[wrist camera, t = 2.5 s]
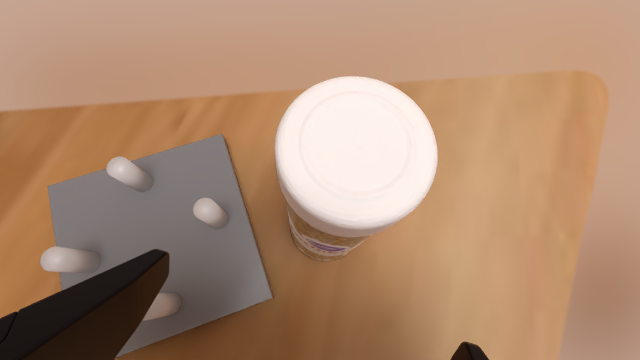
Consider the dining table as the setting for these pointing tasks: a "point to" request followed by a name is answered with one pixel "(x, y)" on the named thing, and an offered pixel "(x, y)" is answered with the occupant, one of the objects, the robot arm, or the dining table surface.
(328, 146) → the sprinkles bottle
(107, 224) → the pin tray
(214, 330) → the dining table surface
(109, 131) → the dining table surface
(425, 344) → the dining table surface
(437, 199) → the dining table surface
